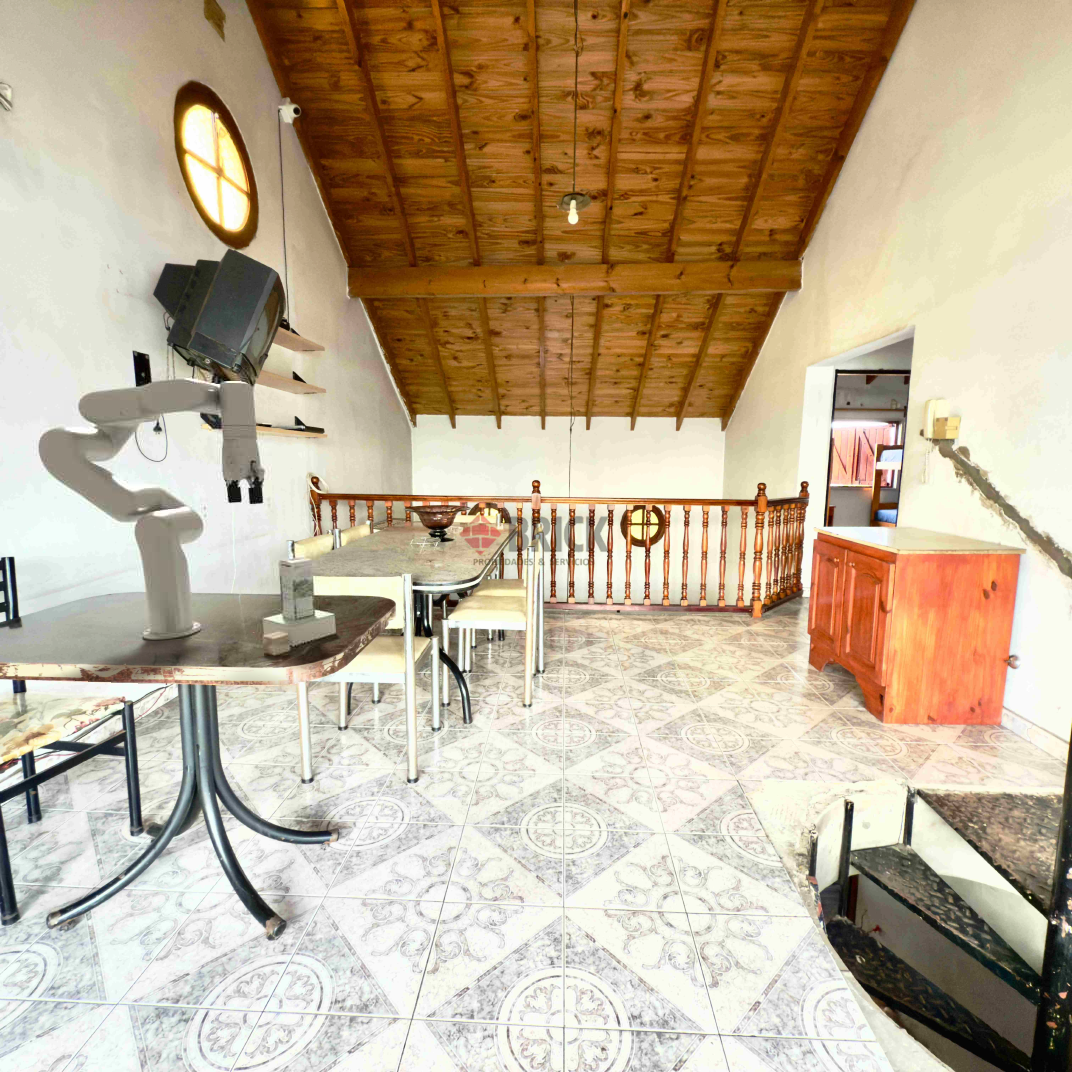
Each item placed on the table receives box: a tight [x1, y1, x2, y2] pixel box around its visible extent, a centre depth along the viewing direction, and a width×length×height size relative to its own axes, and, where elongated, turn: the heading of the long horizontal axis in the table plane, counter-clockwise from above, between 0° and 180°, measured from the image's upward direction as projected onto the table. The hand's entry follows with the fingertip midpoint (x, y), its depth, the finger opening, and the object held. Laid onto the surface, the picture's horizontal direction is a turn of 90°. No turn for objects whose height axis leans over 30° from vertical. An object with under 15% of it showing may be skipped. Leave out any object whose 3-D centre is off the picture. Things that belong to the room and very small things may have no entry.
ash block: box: [262, 631, 291, 656], centre depth 130 cm, size 4×4×4 cm
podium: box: [262, 609, 337, 647], centre depth 141 cm, size 12×12×5 cm
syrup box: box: [278, 557, 316, 620], centre depth 140 cm, size 6×6×14 cm
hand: (245, 503), depth 141 cm, fingers open, 9 cm apart
